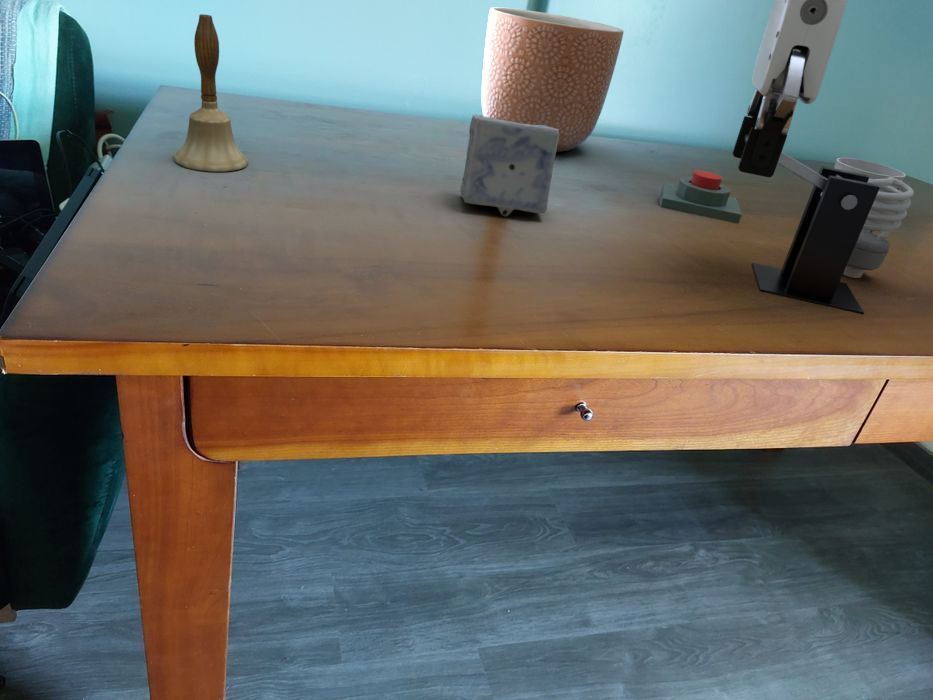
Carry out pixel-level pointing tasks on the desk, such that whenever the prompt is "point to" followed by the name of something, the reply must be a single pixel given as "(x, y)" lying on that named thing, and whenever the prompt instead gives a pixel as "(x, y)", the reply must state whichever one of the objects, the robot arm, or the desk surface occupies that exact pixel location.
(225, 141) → the hand bell
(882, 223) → the light bulb
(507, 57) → the planter
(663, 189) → the button box
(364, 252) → the desk surface
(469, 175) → the incense holder
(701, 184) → the button
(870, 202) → the bracket
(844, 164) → the cup
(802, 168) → the lever
